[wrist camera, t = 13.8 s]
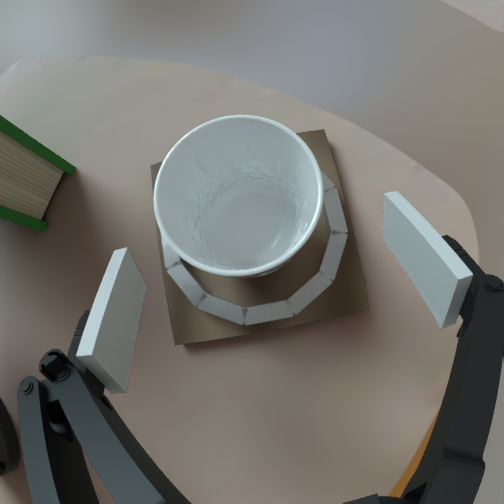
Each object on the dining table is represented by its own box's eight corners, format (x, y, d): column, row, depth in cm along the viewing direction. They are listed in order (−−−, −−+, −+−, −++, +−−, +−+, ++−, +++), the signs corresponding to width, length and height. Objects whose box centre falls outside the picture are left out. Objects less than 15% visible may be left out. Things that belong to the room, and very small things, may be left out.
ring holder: (180, 342, 25) (169, 348, 22) (156, 171, 27) (144, 158, 24) (363, 308, 24) (374, 309, 21) (321, 137, 26) (326, 120, 23)
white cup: (199, 188, 25) (156, 126, 15) (299, 179, 24) (310, 108, 14) (204, 288, 24) (154, 281, 14) (309, 280, 23) (333, 268, 13)
